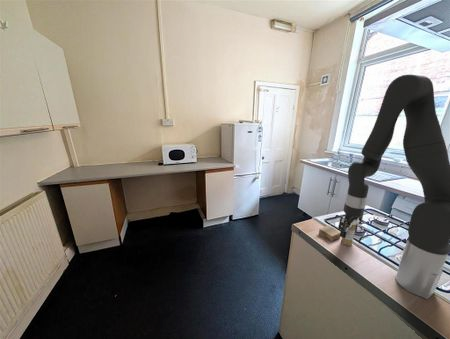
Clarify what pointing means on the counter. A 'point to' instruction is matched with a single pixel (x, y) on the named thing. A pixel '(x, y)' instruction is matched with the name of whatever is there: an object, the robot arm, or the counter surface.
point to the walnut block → (329, 233)
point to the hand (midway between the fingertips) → (348, 234)
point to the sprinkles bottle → (349, 234)
